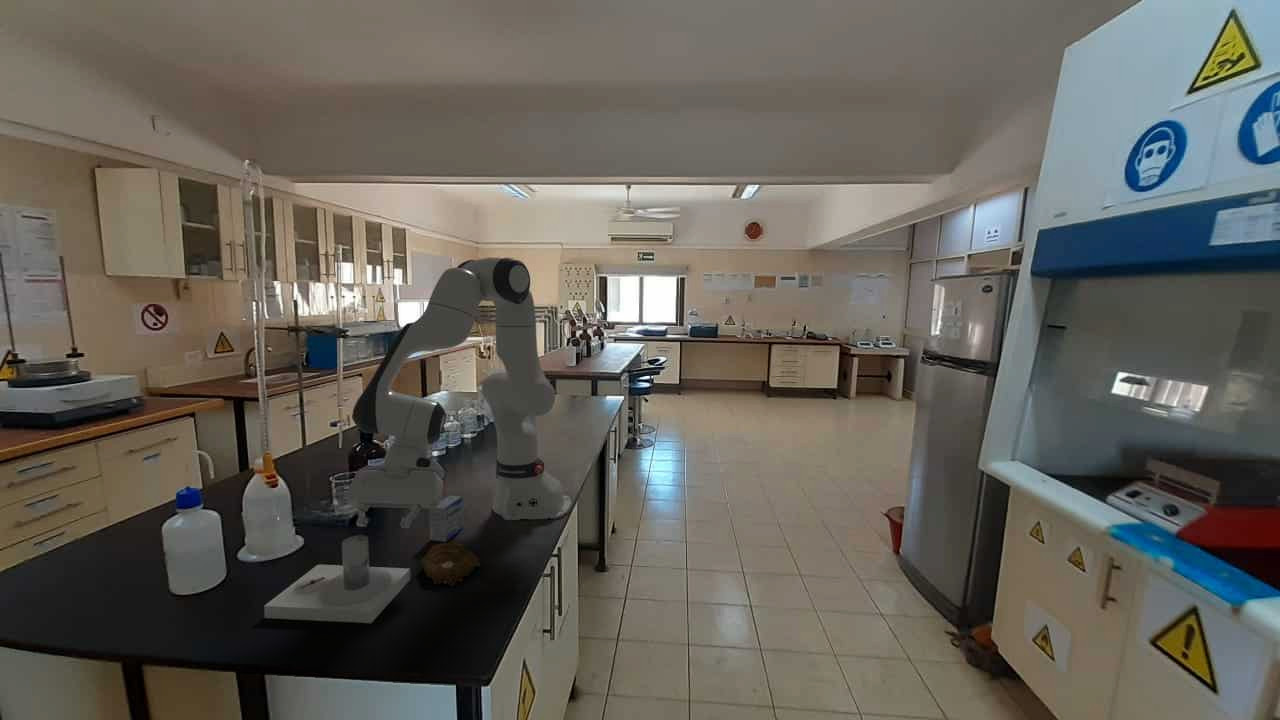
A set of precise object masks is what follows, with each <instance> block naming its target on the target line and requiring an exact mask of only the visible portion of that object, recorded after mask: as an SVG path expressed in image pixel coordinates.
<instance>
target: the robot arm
mask: <svg viewBox="0 0 1280 720" xmlns="http://www.w3.org/2000/svg"><path fill="white" fill-rule="evenodd" d="M530 287H531V276H530V272H529V269H528V268H527V266H526V264H525V263H524V262H523V261H521V260H519V259H517V258H511V257H484V258H479V259H469V260H466V261H463V262H462V263H460V264H458V265H457V266H456V267H451V268H448V269H446V270H444V271H443V272H442V273H441V275H440V277H439V278H438V280H437V282H436V284H435V285H434V288H433V290H432V292H431V295H430V297H429V300H428V303H427V306H426V309H425V310H424V312H423V313H422V315H421V316H420V317H419V318H417V320H415V321H414V322H413V321H412V322H409V323H406V324H405V325H403V327H402V328H401V329H400V330H399V332H398V334H397V335H396V337H395V339H394V340H393V342H392V343H391V345H390V346H389V348H388V350H387V352H386V353H385V355H384V357H383V358H382V360H381V363H380V364H379V366H378V367H377V370H376V371H375V373H374V374H373V376H372V377H371V380H369V382H368V384H367V385H366V388H365V389H364V391H363V392H362V393H361V394H360V396H359V397H357V400H356V402H355V404H354V406H353V409H352V415H351V418H352V420H353V422H354V424H355V425H356V427H357V428H358V429H359V430H360V431H361V432H362V433H367V434H376V435H387V436H391V437H394V440H393V442H392V444H391V445H390V447H389V448H388V450H387V453H386V456H385V457H384V460H383V462H382V464H381V465H371V464H367V465H365V466H364V467H361V468H360V469H357V471H356V473H355V476H354V478H353V480H352V481H351V483H350V485H349V486H348V488H347V489H346V491H345V494H344V500H345V502H346V503H347V504H348V505H349V506H351V507H356V511H357V516H358V517H357V520H356V522H355V524H356V526H358V527H362V528H364V527H366V528H367V526H368V523H369V521H370V518H369V517H367V516H366V512H368V511H369V508H400V509H402V508H403V509H405V508H406V509H410V512H409V513H408V514H407V515H406V516H404V517H401V520H400V522H399V527H401V528H403V529H404V528H405V529H409V528H411V524H412V521H413V520H414V519H416V517H417V516H418V515H420V513H421V511H422V509H429V508H431V509H434V508H435V507H437V506H438V505H439V503H440V501H441V500H442V497H443V496H442V495H443V490H444V482H443V478H444V477H445V471H444V469H443V467H442V466H441V465H440V464H439V463H438V462H437V461H436V460H434V459H433V458H429V455H430V454H429V453H430V448H431V447H432V446H433V445H434V443H436V442H437V441H438V440H440V439H441V434H442V431H443V427H444V426H445V422H446V419H447V412H446V411H445V409H444V408H443V406H442V404H441V403H440V402H438V401H436V400H432V399H428V398H425V397H419V396H413V395H411V394H405V393H401V392H395V391H393V390H392V385H393V384H394V382H395V380H396V378H397V376H398V375H399V373H400V371H401V369H402V367H403V366H404V363H405V362H406V360H408V358H409V357H412V356H413V354H417V353H419V352H424V351H437V350H439V351H440V350H447V349H452V348H455V347H457V346H460V345H461V344H463V343H464V342H466V341H467V339H469V336H470V334H471V332H472V329H473V327H474V324H475V322H476V321H475V320H476V317H477V313H478V311H479V310H478V308H479V305H480V304H481V302H482V301H485V302H492V303H493V305H494V307H495V318H494V322H495V327H494V328H495V353H496V356H497V357H498V358H499V360H500V361H501V362H502V364H503V366H504V369H505V371H500V372H499V371H498V372H494V373H491V374H489V375H488V376H486V378H485V379H484V380H483V383H482V387H481V395H482V397H483V399H484V400H485V402H486V404H488V407H489V410H490V411H491V412H490V413H491V416H492V418H493V422H494V426H495V429H496V436H497V437H496V438H497V439H496V440H497V459H496V462H495V463H496V465H495V476H496V490H495V496H494V501H493V503H492V505H491V506H492V507H491V509H492V511H493V512H494V513H495V514H497V515H499V516H501V517H502V518H503V520H505V521H523V520H522V519H524V520H525V519H528V520H549V519H548V518H550V519H560V518H562V517H564V516H565V515H566V514H567V513H569V511H570V510H571V507H572V499H571V498H570V496H569V495H565V494H564V488H563V485H562V483H561V482H560V480H558V479H556V478H555V477H554V476H553V475H551V474H549V473H548V472H547V471H545V463H546V462H545V460H546V459H543V460H542V459H540V458H539V457H538V432H537V430H536V428H535V427H534V425H533V423H532V422H531V420H530V417H540V416H541V417H542V416H545V415H547V414H548V413H549V412H550V411H552V409H553V407H554V406H555V402H556V391H555V388H554V386H553V385H552V384H551V383H550V381H548V379H547V377H546V375H545V373H544V370H543V368H542V365H541V362H540V359H539V353H538V343H537V341H538V340H537V317H536V316H537V315H536V308H535V302H534V298H533V297H534V296H533V294H532V291H530ZM565 513H566V514H565ZM564 514H565V515H564ZM563 515H564V516H563ZM561 516H562V517H561ZM559 517H560V518H559ZM520 519H521V520H520Z"/></svg>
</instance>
